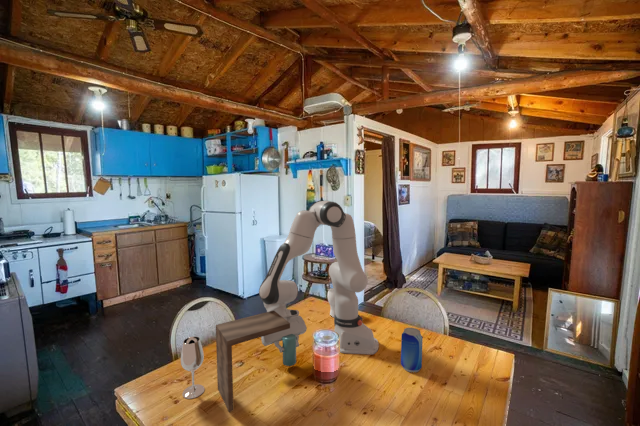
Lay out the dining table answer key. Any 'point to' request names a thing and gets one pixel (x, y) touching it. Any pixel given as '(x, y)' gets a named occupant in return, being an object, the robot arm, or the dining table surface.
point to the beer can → (411, 350)
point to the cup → (331, 301)
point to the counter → (237, 334)
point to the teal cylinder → (289, 349)
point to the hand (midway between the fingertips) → (290, 349)
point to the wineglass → (192, 364)
